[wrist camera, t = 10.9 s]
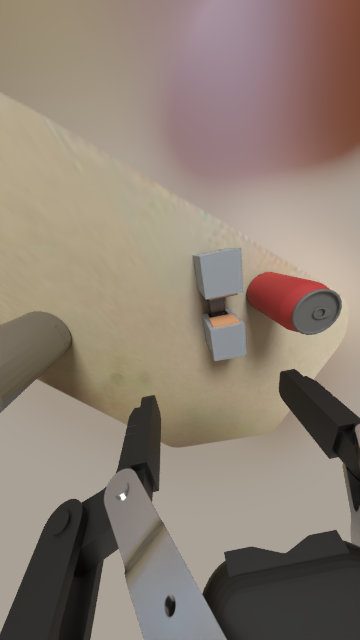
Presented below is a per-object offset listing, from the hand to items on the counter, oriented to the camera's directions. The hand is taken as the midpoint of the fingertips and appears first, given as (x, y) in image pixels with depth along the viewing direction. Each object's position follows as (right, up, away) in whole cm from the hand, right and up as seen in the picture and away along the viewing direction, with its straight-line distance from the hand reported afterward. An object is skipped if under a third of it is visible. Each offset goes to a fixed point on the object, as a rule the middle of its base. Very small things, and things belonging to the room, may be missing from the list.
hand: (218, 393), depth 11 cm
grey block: (+5, +4, +22) cm, 22 cm away
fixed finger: (+3, +13, +18) cm, 22 cm away
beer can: (+13, +10, +20) cm, 25 cm away
